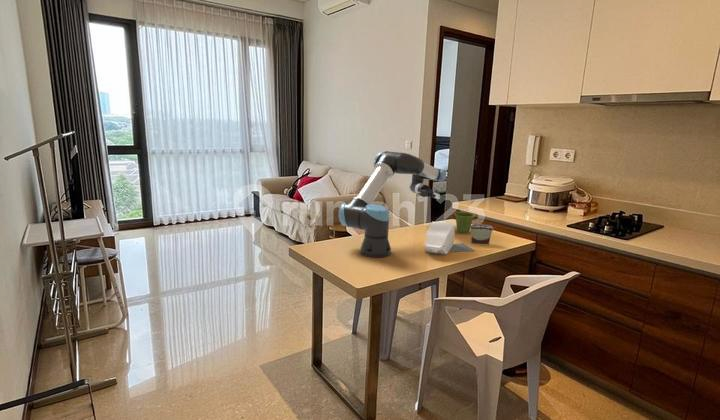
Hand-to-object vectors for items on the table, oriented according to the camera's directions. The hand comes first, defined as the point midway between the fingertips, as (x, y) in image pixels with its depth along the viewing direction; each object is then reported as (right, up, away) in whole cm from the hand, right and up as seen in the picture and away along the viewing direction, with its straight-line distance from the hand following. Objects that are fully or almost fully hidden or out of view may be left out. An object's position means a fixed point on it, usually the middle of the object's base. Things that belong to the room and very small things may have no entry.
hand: (438, 196), depth 220 cm
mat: (+5, -27, -18) cm, 33 cm away
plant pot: (+17, -21, +12) cm, 30 cm away
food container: (+21, -26, -7) cm, 34 cm away
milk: (0, -20, -12) cm, 23 cm away
